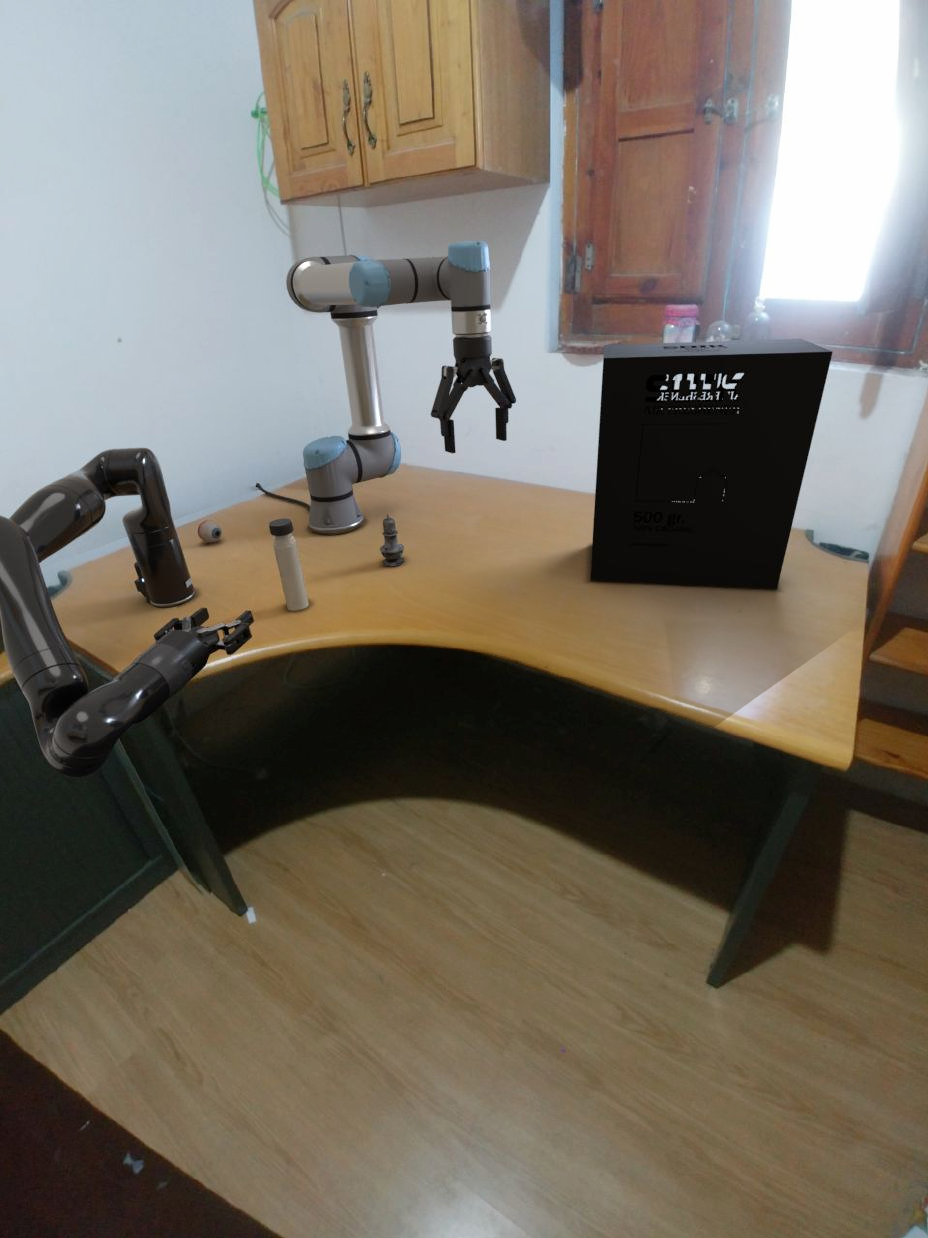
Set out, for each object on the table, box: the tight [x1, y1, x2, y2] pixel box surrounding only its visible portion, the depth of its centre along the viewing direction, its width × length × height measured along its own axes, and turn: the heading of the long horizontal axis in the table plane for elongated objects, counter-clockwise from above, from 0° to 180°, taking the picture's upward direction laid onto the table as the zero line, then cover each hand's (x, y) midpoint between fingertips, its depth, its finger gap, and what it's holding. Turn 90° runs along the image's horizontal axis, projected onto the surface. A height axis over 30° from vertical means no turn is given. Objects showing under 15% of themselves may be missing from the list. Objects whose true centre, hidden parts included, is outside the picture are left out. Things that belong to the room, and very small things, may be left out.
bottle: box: [272, 533, 310, 612], centre depth 124 cm, size 5×5×18 cm
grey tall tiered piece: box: [379, 514, 405, 567], centre depth 143 cm, size 6×6×12 cm
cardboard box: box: [589, 338, 834, 590], centre depth 125 cm, size 38×20×45 cm, turn 78°
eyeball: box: [197, 519, 223, 544], centre depth 161 cm, size 6×6×6 cm
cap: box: [268, 517, 294, 537], centre depth 120 cm, size 4×4×2 cm
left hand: (228, 613), depth 103 cm, fingers open, 8 cm apart
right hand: (476, 445), depth 127 cm, fingers open, 13 cm apart
